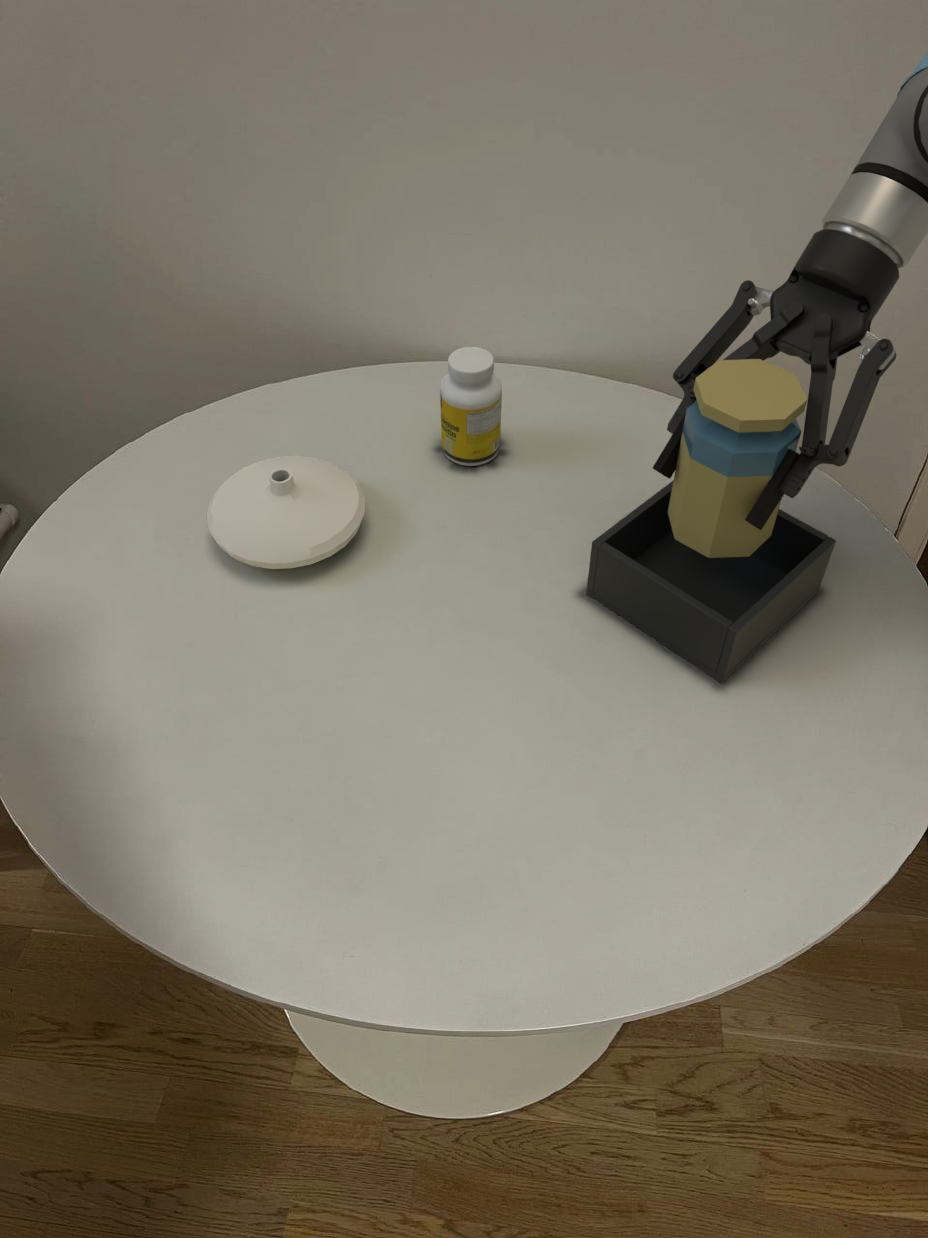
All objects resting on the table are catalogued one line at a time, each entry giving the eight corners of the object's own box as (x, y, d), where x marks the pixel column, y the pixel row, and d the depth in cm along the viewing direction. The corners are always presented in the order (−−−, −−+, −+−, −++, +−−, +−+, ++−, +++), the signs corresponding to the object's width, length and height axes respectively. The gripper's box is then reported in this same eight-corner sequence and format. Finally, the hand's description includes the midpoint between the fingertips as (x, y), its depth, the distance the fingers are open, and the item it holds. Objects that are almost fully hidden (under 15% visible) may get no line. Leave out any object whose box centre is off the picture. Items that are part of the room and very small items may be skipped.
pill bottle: (443, 431, 113) (440, 340, 104) (500, 432, 113) (502, 341, 104) (440, 468, 108) (437, 376, 100) (500, 469, 108) (502, 377, 100)
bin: (818, 592, 95) (837, 540, 90) (721, 683, 88) (736, 632, 83) (685, 515, 103) (695, 462, 98) (585, 593, 96) (591, 541, 91)
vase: (182, 562, 99) (166, 508, 94) (259, 466, 109) (248, 412, 104) (326, 602, 95) (317, 548, 90) (392, 499, 105) (388, 445, 100)
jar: (760, 576, 86) (802, 434, 75) (655, 551, 88) (680, 410, 77) (777, 508, 91) (818, 367, 80) (677, 487, 94) (704, 346, 82)
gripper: (992, 317, 78) (827, 568, 82) (757, 225, 88) (622, 453, 92) (986, 279, 71) (807, 554, 76) (733, 185, 81) (589, 431, 86)
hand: (706, 498), depth 84 cm, fingers closed on jar, 9 cm apart
